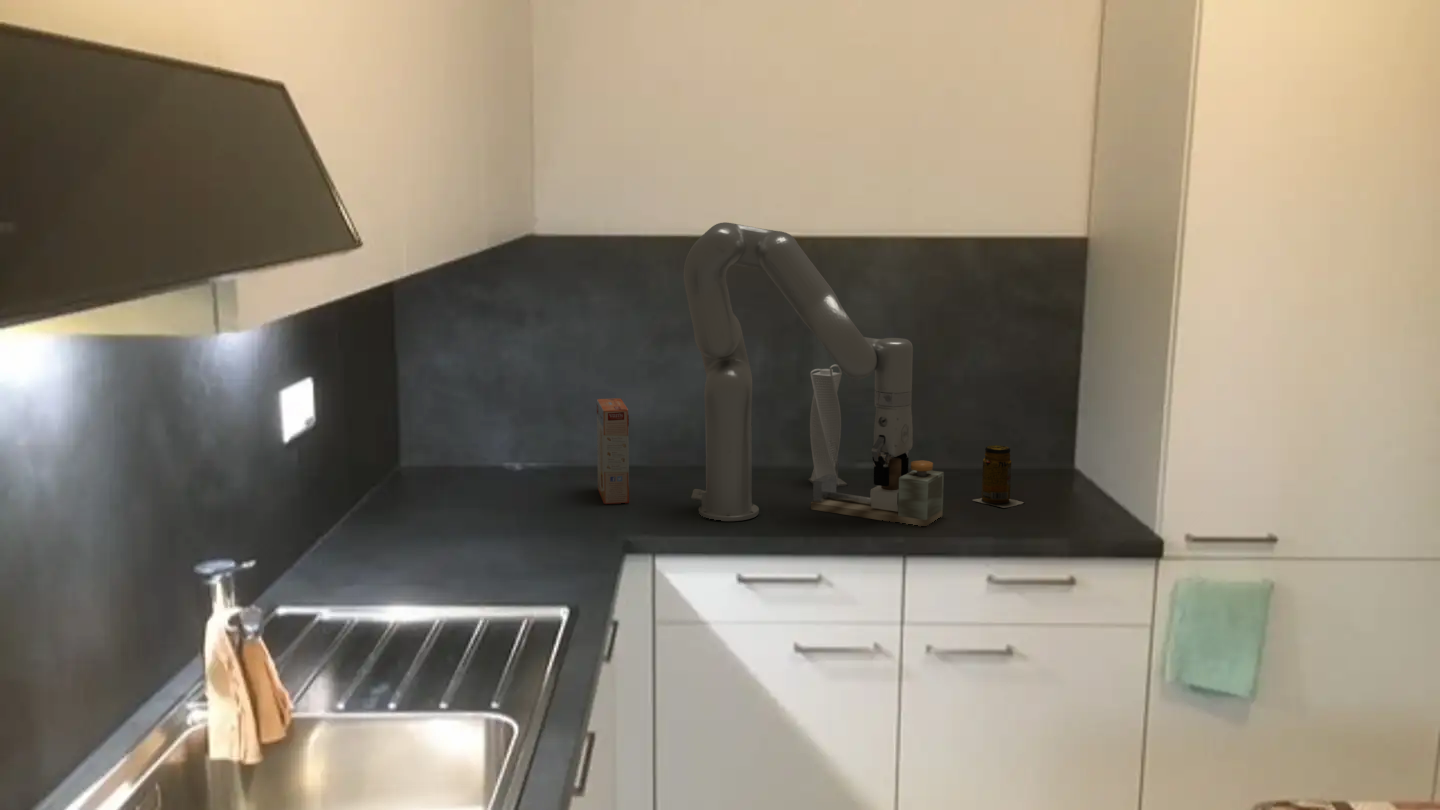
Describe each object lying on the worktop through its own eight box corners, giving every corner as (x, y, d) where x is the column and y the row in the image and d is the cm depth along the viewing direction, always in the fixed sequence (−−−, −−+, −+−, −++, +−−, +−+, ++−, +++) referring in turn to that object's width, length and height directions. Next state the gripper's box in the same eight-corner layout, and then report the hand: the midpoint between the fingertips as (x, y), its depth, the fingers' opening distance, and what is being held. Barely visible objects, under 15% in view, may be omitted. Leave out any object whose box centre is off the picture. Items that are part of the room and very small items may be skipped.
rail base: (810, 509, 270) (811, 465, 268) (829, 499, 277) (830, 457, 275) (925, 527, 256) (926, 481, 255) (942, 516, 264) (943, 472, 262)
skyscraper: (849, 487, 288) (851, 364, 283) (815, 489, 286) (816, 366, 281) (836, 478, 296) (838, 359, 291) (803, 480, 294) (804, 360, 289)
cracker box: (631, 504, 274) (629, 408, 270) (603, 505, 273) (601, 409, 269) (623, 488, 288) (622, 397, 284) (597, 489, 287) (595, 398, 283)
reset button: (907, 479, 259) (907, 463, 259) (915, 474, 263) (916, 459, 262) (927, 481, 257) (927, 466, 256) (935, 477, 261) (936, 462, 260)
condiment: (993, 495, 281) (995, 442, 278) (1024, 503, 274) (1027, 449, 272) (971, 501, 276) (973, 447, 274) (1003, 509, 270) (1005, 454, 267)
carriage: (870, 508, 263) (871, 461, 262) (884, 500, 269) (885, 454, 267) (896, 512, 260) (898, 464, 258) (910, 504, 266) (911, 457, 264)
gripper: (892, 407, 251) (890, 492, 255) (926, 394, 266) (924, 474, 269) (858, 404, 255) (856, 487, 258) (893, 390, 270) (891, 469, 273)
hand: (891, 480), depth 264 cm, fingers open, 9 cm apart
